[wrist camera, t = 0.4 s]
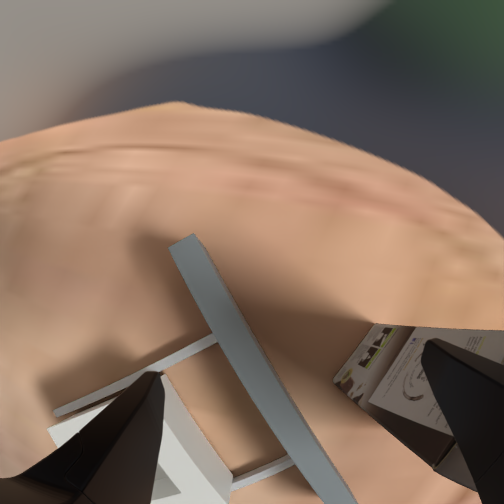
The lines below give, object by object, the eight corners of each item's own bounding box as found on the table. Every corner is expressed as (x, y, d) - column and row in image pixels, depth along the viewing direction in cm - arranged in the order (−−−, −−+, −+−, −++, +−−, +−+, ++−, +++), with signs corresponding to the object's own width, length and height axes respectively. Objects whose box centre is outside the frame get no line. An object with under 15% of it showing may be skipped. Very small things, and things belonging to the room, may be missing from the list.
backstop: (349, 487, 20) (364, 514, 16) (165, 549, 19) (154, 575, 14) (205, 248, 25) (193, 233, 20) (31, 350, 23) (-1, 354, 18)
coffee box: (328, 382, 23) (429, 471, 7) (375, 320, 24) (519, 321, 8) (398, 431, 21) (509, 510, 6) (439, 375, 22) (572, 406, 7)
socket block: (233, 475, 21) (228, 505, 16) (137, 503, 20) (120, 529, 15) (165, 373, 23) (144, 387, 18) (75, 414, 22) (46, 428, 17)
